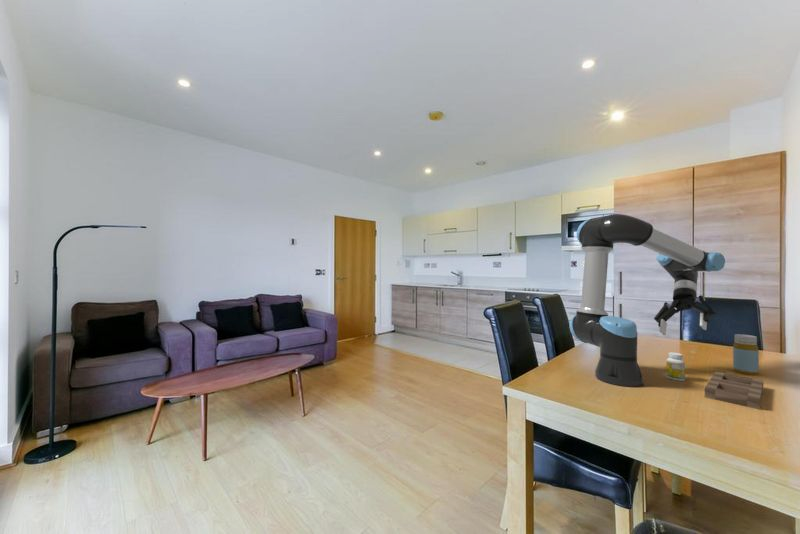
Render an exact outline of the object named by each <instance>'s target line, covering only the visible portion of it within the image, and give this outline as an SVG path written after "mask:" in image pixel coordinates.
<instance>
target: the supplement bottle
mask: <svg viewBox="0 0 800 534" xmlns="http://www.w3.org/2000/svg"><path fill="white" fill-rule="evenodd" d="M666 378H667V379H670V380H674V381H681V382H683V381H685V380H686V362H685V360H684V358H683V354H682V353H679V352H671V351H670V352H668V358H666Z"/></svg>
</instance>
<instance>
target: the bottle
mask: <svg viewBox="0 0 800 534" xmlns="http://www.w3.org/2000/svg"><path fill="white" fill-rule="evenodd" d="M733 336H734V343H733V345H732V363H733V364H732V366H733V370H734V372H736V373H740V374H744V375H750V374H752V375H754V376H756V375H758V374H760V373H759V371H760V369H759V368H760V367H759V366H760V362H759V361H760V358H759V356H760V355H759V354H760V352H759V350H760V349H759V347H758V344H757V343H758V337H757V336H755V335H750V334H742V333H737V334H736V333H735V334H734V335H733ZM752 375H751V376H752Z"/></svg>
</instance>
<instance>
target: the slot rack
mask: <svg viewBox="0 0 800 534" xmlns="http://www.w3.org/2000/svg"><path fill="white" fill-rule="evenodd" d="M763 394H764V379H759V378H755V377H754V378H753V377H747V376H742V375H737V374H730V373H725V372H720V371H714V373H713V375H712V376H711V378H710V379H709V381H708V382H707V383H706V386H705V387H704V398H707V399H711V400H712V399H713V400H717V401H720V402H725V403H730V404H734V405H737V406H742V407H748V408H749V409H750V408H752V409H756V410H760V409H761V403H762V400H763V399H762V398H763Z"/></svg>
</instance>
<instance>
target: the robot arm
mask: <svg viewBox="0 0 800 534" xmlns="http://www.w3.org/2000/svg"><path fill="white" fill-rule="evenodd" d="M576 238H577V241H578V243H579V244H581V249H582V251H583V252H584V265H583V275H582V290H581V300H580V301H581V303H580V307H579V308H578V309H576V314H575V315H574V316H572V318H571V319H570V320H569V330H570V333H571V335H572V336H573V337H574V338H575V339H576V340H578V341H580V342H582V343H585V344H589V345H592V346H596V347H599V351H600V352H599V353H600V357H599V359H598V362H597V365H596V367H595V370H594V376H596V377H597V378H596V377H595V378H596V379H598V380H599V379H600V380H599V381H601V380H602V382H604V381H605V383H607V382H608V383H607V384H612V385H616V386H621V387H641V386H643V385H644V376H643V374H642V371H641V368H640V366H639V363H638V330H637V329H638V328H637V324H636V323H635V322H634V321H632V320H630V319H628V318H624V317H621V316H620V317H618V316H613V315H609V313H608V312H607V311H606V310H605V308H606V307H605V305H606V293H607V292H606V290H607V281H608V279H607V278H608V277H607V276H608V265H609V254H610V253H611V252H612V251H613V250H614V244H617V243H620V244H622V243H623V244H630V245H632V246H635V247H637V246H638V247H639V246H642V247H644V248H647V249H648V250H651V251H653V252H655V253H658V255H657V256H656V261H657V262H658V264H659V265H660V266H661V267H662V268H663V269H664V270H665V271H666V272H667V273H668V274H669V275H670V276H671V277H672V279H673V280H674V284H673V291H672V292H673V294H672V302H669V303H668V302H666V301H665V302H664V303H663V306H662V307H661V309H660V310H659V311H658V312H657V313H656V315H655V316H654V317H653V320H655V322H656V323H658V328H659V332H660V333H661V334H662V336H666V335H667V326H668V320H669V319H671V318H672V317H673V316H674V315H676V314H678V313H680V312H683V311H686V310H690V309H692V310H694V311H697V312H699V327H700V328H701V329H702V330H704V331H707V324H708V323H710V320H711V319H710V316H711V315H716V314H717V312H716V310H715V309H714V308H713V307H712V306H711V305H710V304H709V303H708V302H707V300H706V298H705V297H704V296H703V295H699V296H698V297H697V294H698V293H697V292H698V279H699V278H698V277H699V272H708V273H709V272H718V271H722V270H723V269H724V267H725V264H726V259H725V256H724V255H723V254H722V253H720V252H715V251H710V252H707V251H705V250H702V249H699V248H698V247H696V246H693V245H692V244H689V243H686V242H684V241H682V240H680V239H678V238H675V237H673V236H671V235H669V234H667V233H664V232H662V231H660V230H658V229H657V228H656V229H655V228H654V227H653V225H652V224H651V223H649V222H647V221H645V220H644V219H640V218H637V217H635V216H630V215H626V214H624V213H623V214H621V213H612V214H608V215H601V216H599V217H598V216H597V217H593V218H592V217H591V218H589V219H587V220H585V221H583V222H582V223H580V224H579V226H578V227H577V230H576ZM698 303H700V304H702V305H703V306H704V307H705V308H706V309H707V310H706V309H705V308H702V307H700V306H699V305H697V304H698Z"/></svg>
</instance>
